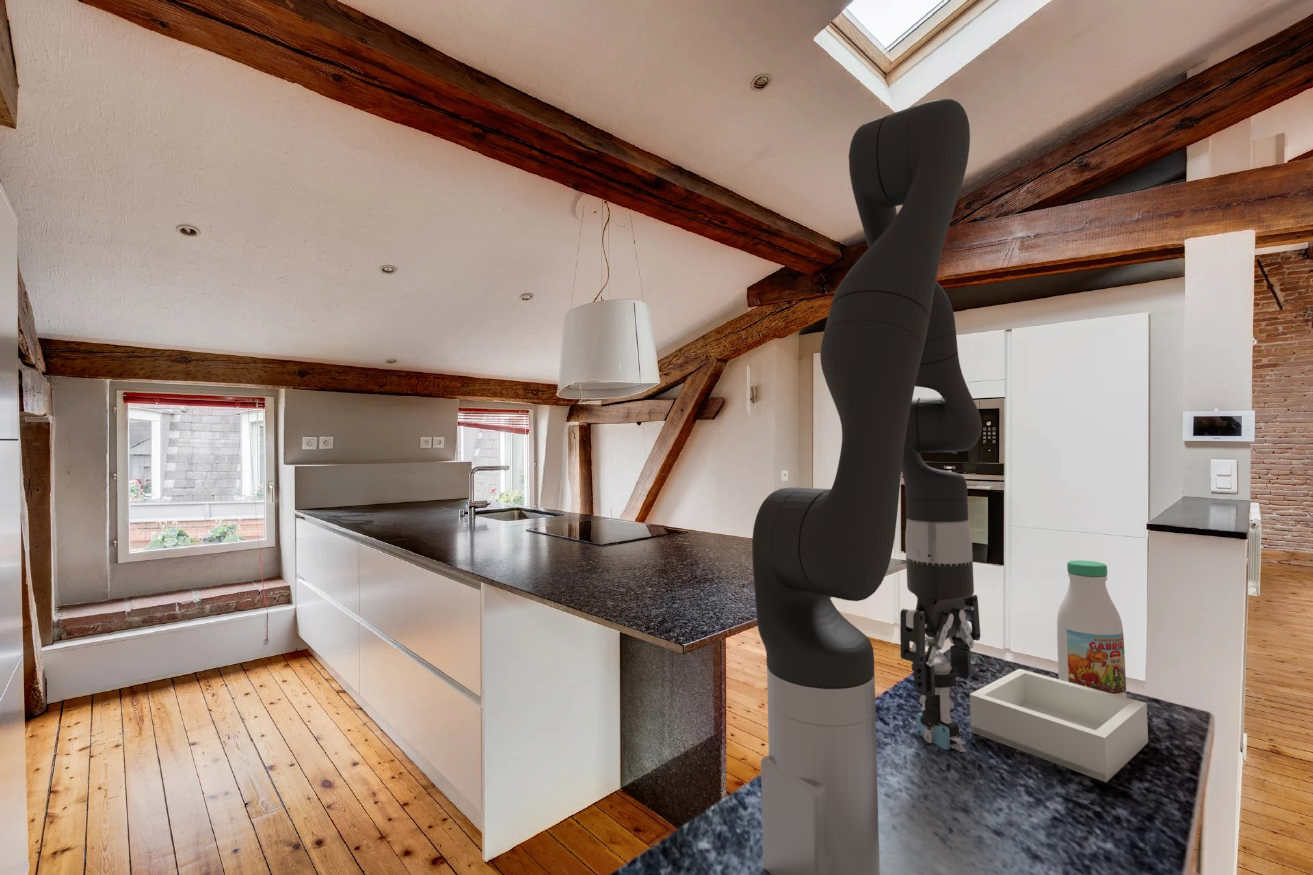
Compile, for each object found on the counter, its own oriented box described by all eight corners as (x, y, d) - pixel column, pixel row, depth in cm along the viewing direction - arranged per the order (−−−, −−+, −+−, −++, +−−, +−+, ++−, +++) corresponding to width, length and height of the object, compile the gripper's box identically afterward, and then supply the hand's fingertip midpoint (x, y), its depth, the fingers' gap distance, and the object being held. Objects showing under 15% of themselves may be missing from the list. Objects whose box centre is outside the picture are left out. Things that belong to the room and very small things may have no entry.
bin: (1106, 782, 62) (1104, 737, 63) (970, 731, 74) (969, 694, 74) (1148, 742, 71) (1146, 702, 71) (1020, 702, 82) (1019, 668, 83)
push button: (980, 751, 69) (977, 668, 69) (946, 760, 67) (943, 674, 68) (936, 727, 75) (933, 650, 76) (904, 734, 74) (901, 656, 74)
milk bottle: (1047, 697, 84) (1042, 560, 84) (1078, 688, 87) (1073, 555, 88) (1107, 719, 77) (1101, 569, 77) (1138, 708, 80) (1133, 564, 81)
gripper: (936, 568, 65) (942, 712, 64) (997, 551, 73) (1003, 679, 73) (877, 558, 71) (883, 690, 71) (939, 544, 79) (944, 662, 79)
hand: (943, 685), depth 72 cm, fingers open, 8 cm apart
